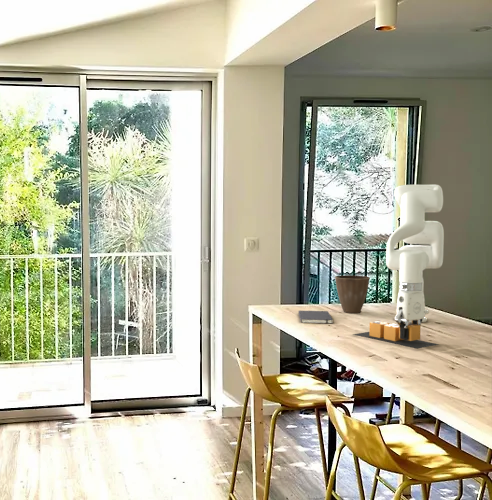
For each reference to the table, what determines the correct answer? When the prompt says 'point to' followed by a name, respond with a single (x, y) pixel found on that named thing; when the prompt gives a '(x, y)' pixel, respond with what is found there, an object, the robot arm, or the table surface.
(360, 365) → the table surface
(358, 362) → the table surface
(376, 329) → the letter L
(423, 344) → the word mat
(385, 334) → the letter I
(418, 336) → the letter T
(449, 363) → the table surface
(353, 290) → the flower pot
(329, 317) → the notebook
